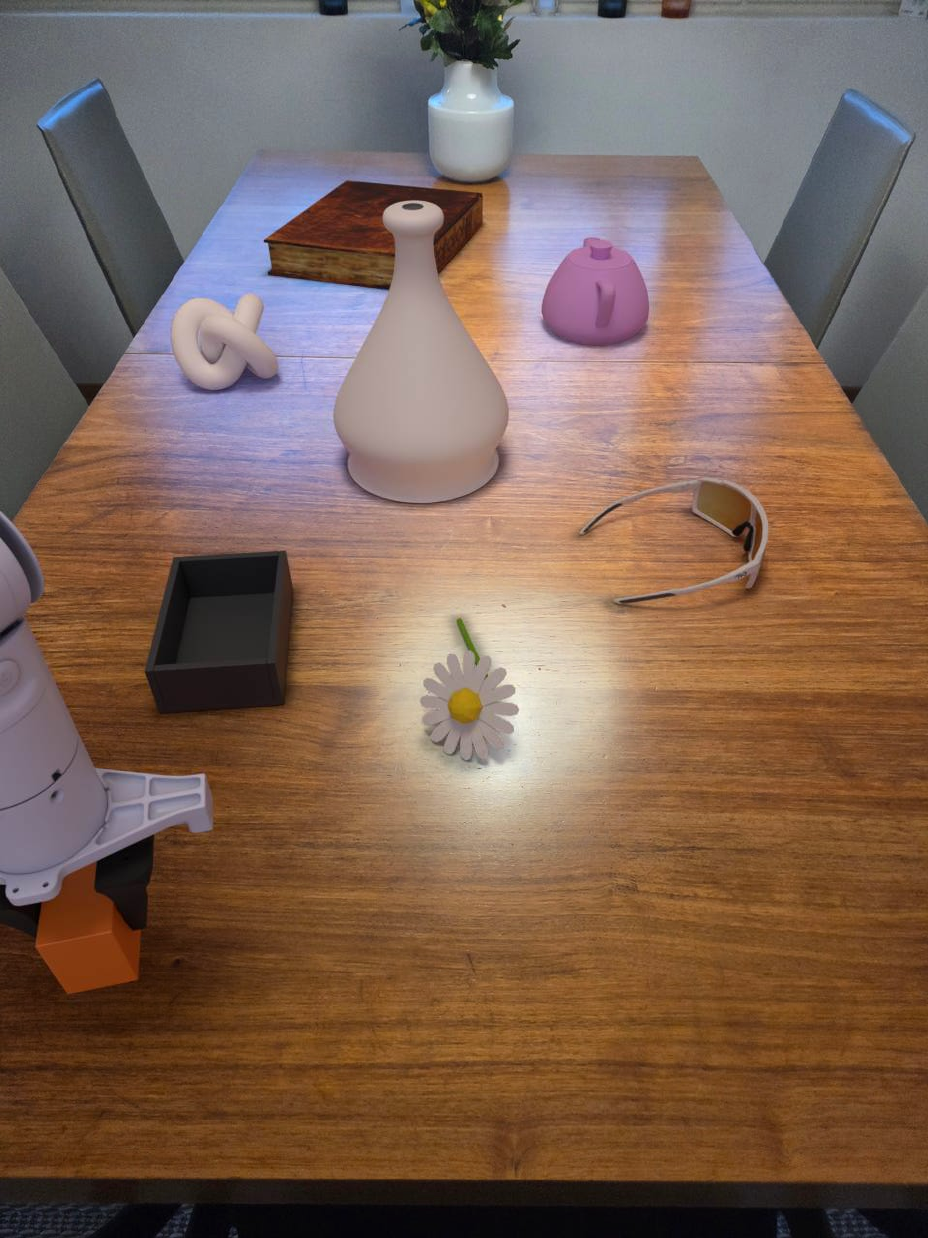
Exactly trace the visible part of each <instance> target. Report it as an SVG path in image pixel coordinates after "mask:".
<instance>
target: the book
mask: <svg viewBox="0 0 928 1238" xmlns="http://www.w3.org/2000/svg"><path fill="white" fill-rule="evenodd" d="M403 201H425V202H429V203H432V204H435V205H437V206H438V207H439V208H440V209H441V210H442V212H443V215H444V221H443V224H442V226H441V228H440V229H439V230H438V231H436V233H435V235H434V240H433V245H434V256H435V262H436V268H437V272H438V274H439V273H440V272H441V271H442V270H443V269H444V268H445V267H446V265H448V263H449V262H450V261H451V260H452V259H453V257H455V256H456V254H457V253H458V252H459V251H460V250H461V249H462V248H463V246H465V244H467V243H468V241H469V240H470V239H471V238H472V237H473V235H474V234H475V233H476V232H477V231H478V230H479V229H480V228H481V227H482V226H483V218H484V217H483V214H484V213H483V212H484V205H483V204H484V196H483V193H482V192H479V191H478V192H477V191H466V190H455V189H447V188H436V187H425V186H413V185H402V184H392V183H380V182H371V181H370V182H369V181H362V180H361V181H360V180H349V179H346V180H345V181H343V182H342V183H340V184H339V185H338V186H337V187H335V188H334V189H333V190H331V191H330V192H328V193H327V194H326V195H324V196H323V197H321V198H320V199H318V200H317V201H315V202H314V203H313V204H311V205H310V206H308V207H307V208H306V209H305V210H303V211H301V212H300V213H299V214H297V215H296V216H295V217H294V218H291V220H289V221H288V222H287V223H285V224H284V225H282V226H281V227H279V228H278V229H277V230H275V231H274V232H272V233H270V234H269V235H268V236H267V237H265V238H264V239H263V243H266V244H267V246H268V254H269V259H270V266H271V269H270V270H269V271H267V276H272V277H281V278H288V279H289V278H290V279H298V280H306V281H314V282H323V283H330V284H339V285H346V286H354V287H363V288H370V289H371V288H372V289H378V290H387V291H389V289H390V286H391V283H392V278H393V273H394V265H395V239H394V236H393V234H392V233H391V232H390V231H388V230H387V229H386V227H385V226H384V224H383V213H384V211H385V210H386V208H388V207H389V206H391V205H393V204H395V203H398V202H403Z"/></svg>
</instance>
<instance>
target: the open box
mask: <svg viewBox="0 0 928 1238" xmlns="http://www.w3.org/2000/svg"><path fill="white" fill-rule="evenodd" d="M287 553H288V552H287V550H272V551H255V552H236V553H220V554H203V555H189V556H188V555H187V556H184V555H183V556H173V557H172V561H171V565H170V569H169V573H168V577H167V580H166V585H165V589H164V592H163V596H162V601H161V605H160V608H159V612H158V615H157V616H158V617H157V620H156V624H155V628H154V632H153V636H152V640H151V644H150V649H149V652H148V655H147V660H146V664H145V668H144V675H145V677H146V680H147V682H148V686H149V688H150V690H151V693H152V696H153V699H154V702H155V705H156V708H157V710H158V713H159V714H169V713H184V712H199V711H212V710H225V709H226V710H228V709H240V708H241V709H243V708H255V707H269V706H284V704H285V695H286V685H287V674H288V671H287V670H288V659H289V650H290V638H291V624H292V614H293V603H294V602H293V601H294V587H293V580H292V576H291V575H292V574H291V570H290V563H289V560H288V559H289V558H288V554H287Z"/></svg>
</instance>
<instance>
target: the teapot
mask: <svg viewBox="0 0 928 1238" xmlns="http://www.w3.org/2000/svg"><path fill="white" fill-rule="evenodd" d="M582 245H583V246H582V247H578V248H575V249H572V250H571V251H570V252H569V253H568V254H567V255H566V256H565V257H564V258H563V260H562V261H561V262H560V264H559V265H558V266H557V268H556V270H555V271H554V272H553V274H552V276H551V278H550V279H549V281H548V284H547V286H546V288H545V291H544V294H543V298H542V303H541V315H542V318H543V320H544V322H545V323H546V325H547V326H548V328H549V329H550V330H551V331H552V332H553V333H554V334H555V335H556V336H557V337H559V338H561V339H564V340H565V341H568V342H572V343H574V344H581V345H588V346H607V345H614V344H619V343H622V342H625V341H627V340H629V339H631V338H632V337H633V336H635V335H636V334H637V333H638V332H639V331H640V330H641V329H642V328H643V327H644V326H645V325H646V323H647V321H648V319H649V316H650V315H649V314H650V301H649V293H648V289H647V285H646V282H645V280H644V277H643V275H642V273H641V270H640V268H639V266H638V264H637V262H636V261H635V259H634V257H633V256H632V255H631V254H630V253H629V252H628V251H625V250H623V249H621V248H617V247H613V243H612V242H611V241H609V240H604V239H601V238H599V237H594V236H593V237H592V236H591V237H590V236H589V237H586V238H584V239H583V244H582Z"/></svg>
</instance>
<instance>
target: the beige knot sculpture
mask: <svg viewBox="0 0 928 1238" xmlns="http://www.w3.org/2000/svg"><path fill="white" fill-rule="evenodd" d="M264 309H265V306H264V302H263V300H262V299H261V297H260V296H259V295H257V294H255V293H252V292H250V293H244V294H243V295H242V296H241V297H240V298H239V299H238V302H237V305H236V308H235V310H234V312H232V311H230V310H229V308H227V307H226V306H224V305H223V304H222V303H220V302H218V301H216V300H214V299H213V298H212V299H211V298H208V297H194V298H192V299H189V300H187V301H186V302H184V303H183V304H181V305H180V306H179V307H178V308H177V310H176V311H175V314H174V316H173V318H172V321H171V326H170V345H171V349H172V353H173V356H174V360H175V362H176V363H177V366H178V367H179V369H180V370H181V372H182V373H183V374H184V376H185V377H186V378H187V379H188V380H189V381H191V382H192V383H193V384H194V385H196V386H198V387H200V388H201V389H205V390H209V391H219V390H224V389H227V388H229V387H231V386H232V385H234V384H235V383H236V382H237V381H238V380H239V379H240V378H241V376H242V374H243V373H244V371H245V368H247V369H248V370H249V371H250V372H251V373H252V374H254V376H256V377H259V378H261V379H264V380H266V379H272V377H274V376H275V375H276V374H277V373H278V370H279V361H278V358H277V356H276V354H275V353H274V351H273V350H272V349H271V348H270V347H269V345H268V344H267V343H265V341H264V340H262V339H261V337H259V336H258V335H257V332H258V329H259V326H260V323H261V320H262V316H263V312H264Z"/></svg>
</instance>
